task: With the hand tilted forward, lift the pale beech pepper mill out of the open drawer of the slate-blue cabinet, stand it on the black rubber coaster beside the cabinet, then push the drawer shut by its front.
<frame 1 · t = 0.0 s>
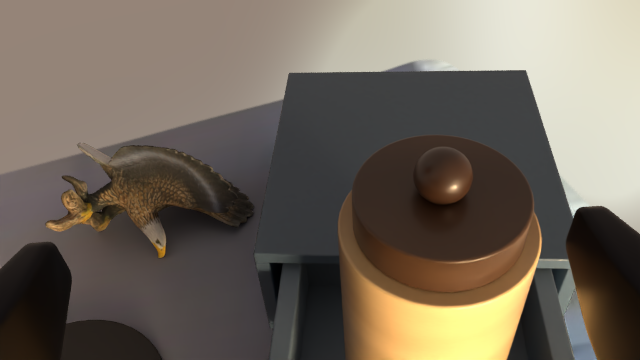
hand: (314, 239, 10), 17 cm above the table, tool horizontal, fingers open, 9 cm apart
eagle figurine: (170, 229, 33), on the table
cabinet: (404, 227, 32), on the table
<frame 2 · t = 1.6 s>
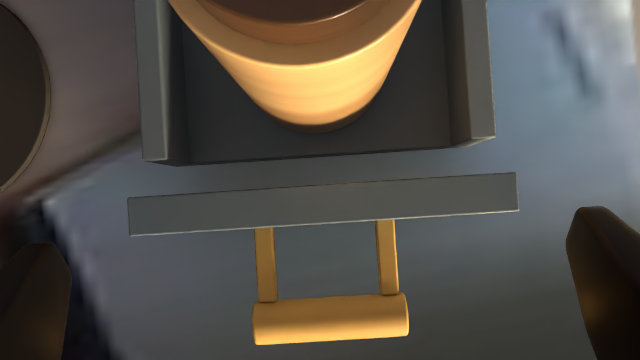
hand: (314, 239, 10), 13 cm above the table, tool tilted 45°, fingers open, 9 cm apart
drawer: (316, 98, 20), point 3 cm above the table, slide at 9.0 cm, touching pepper mill
pepper mill: (314, 61, 21), point 2 cm above the table, touching drawer
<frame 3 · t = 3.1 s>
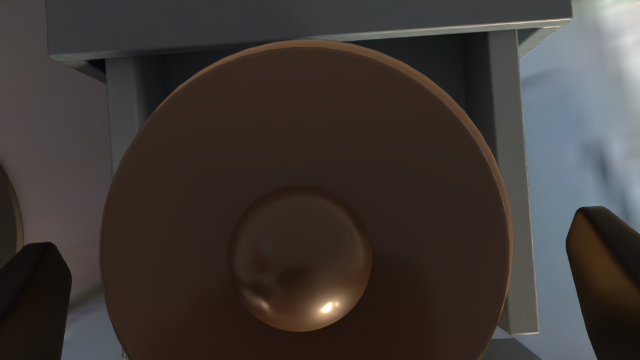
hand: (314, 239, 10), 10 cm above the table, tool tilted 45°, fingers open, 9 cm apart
drawer: (325, 265, 17), point 3 cm above the table, slide at 9.0 cm, touching pepper mill
pepper mill: (322, 213, 18), point 2 cm above the table, touching drawer
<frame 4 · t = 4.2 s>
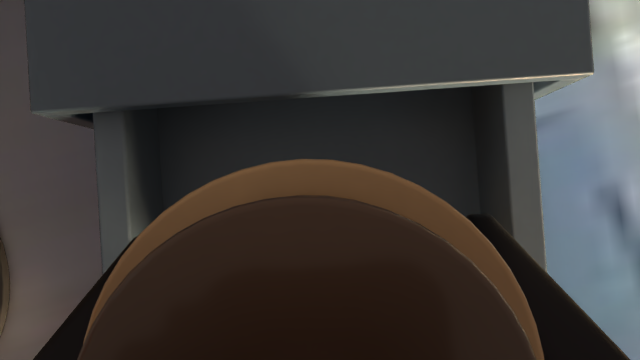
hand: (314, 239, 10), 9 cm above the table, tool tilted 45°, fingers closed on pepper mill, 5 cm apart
drawer: (327, 324, 16), point 3 cm above the table, slide at 9.0 cm, touching pepper mill
pepper mill: (324, 265, 17), point 2 cm above the table, touching drawer, gripper
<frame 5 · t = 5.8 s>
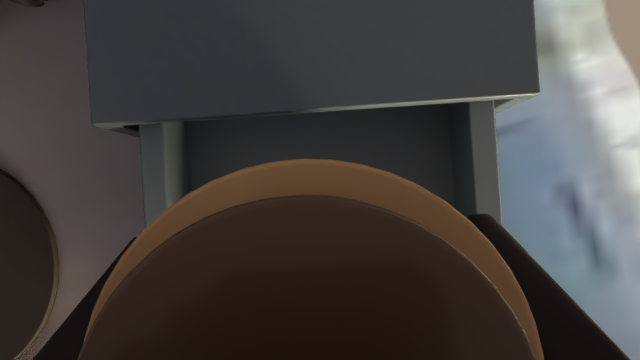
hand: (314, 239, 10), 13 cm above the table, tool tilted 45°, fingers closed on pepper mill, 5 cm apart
drawer: (328, 297, 20), point 3 cm above the table, slide at 9.0 cm
pepper mill: (324, 265, 17), point 5 cm above the table, touching gripper
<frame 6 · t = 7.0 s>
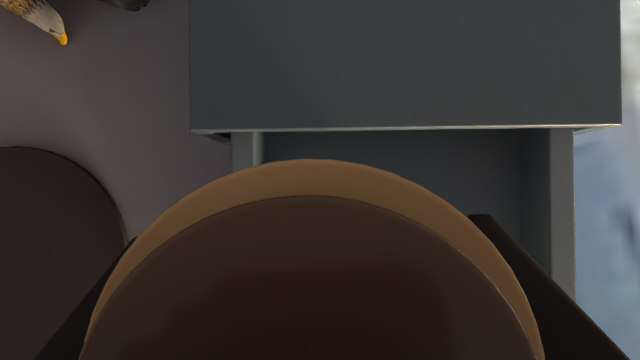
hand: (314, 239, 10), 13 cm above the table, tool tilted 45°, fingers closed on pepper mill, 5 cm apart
coaster: (19, 257, 24), on the table
drawer: (396, 306, 21), point 3 cm above the table, slide at 9.0 cm
pepper mill: (324, 265, 17), point 6 cm above the table, touching gripper
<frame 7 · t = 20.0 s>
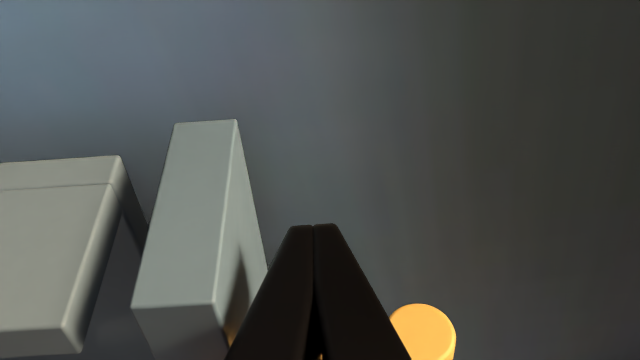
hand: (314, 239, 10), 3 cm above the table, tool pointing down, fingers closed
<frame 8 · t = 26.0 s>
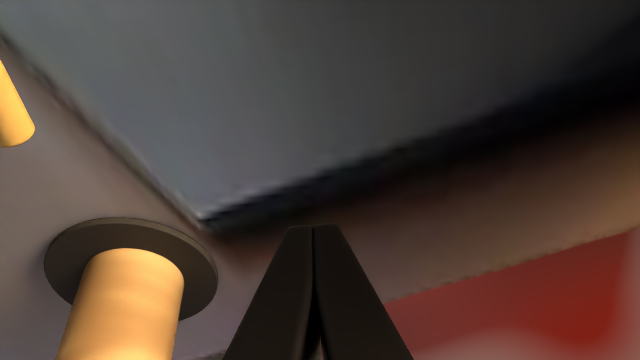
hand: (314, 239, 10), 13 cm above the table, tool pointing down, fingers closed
coaster: (134, 273, 32), on the table
pepper mill: (135, 278, 31), resting on coaster
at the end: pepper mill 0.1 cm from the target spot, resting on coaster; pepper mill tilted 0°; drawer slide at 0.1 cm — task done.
